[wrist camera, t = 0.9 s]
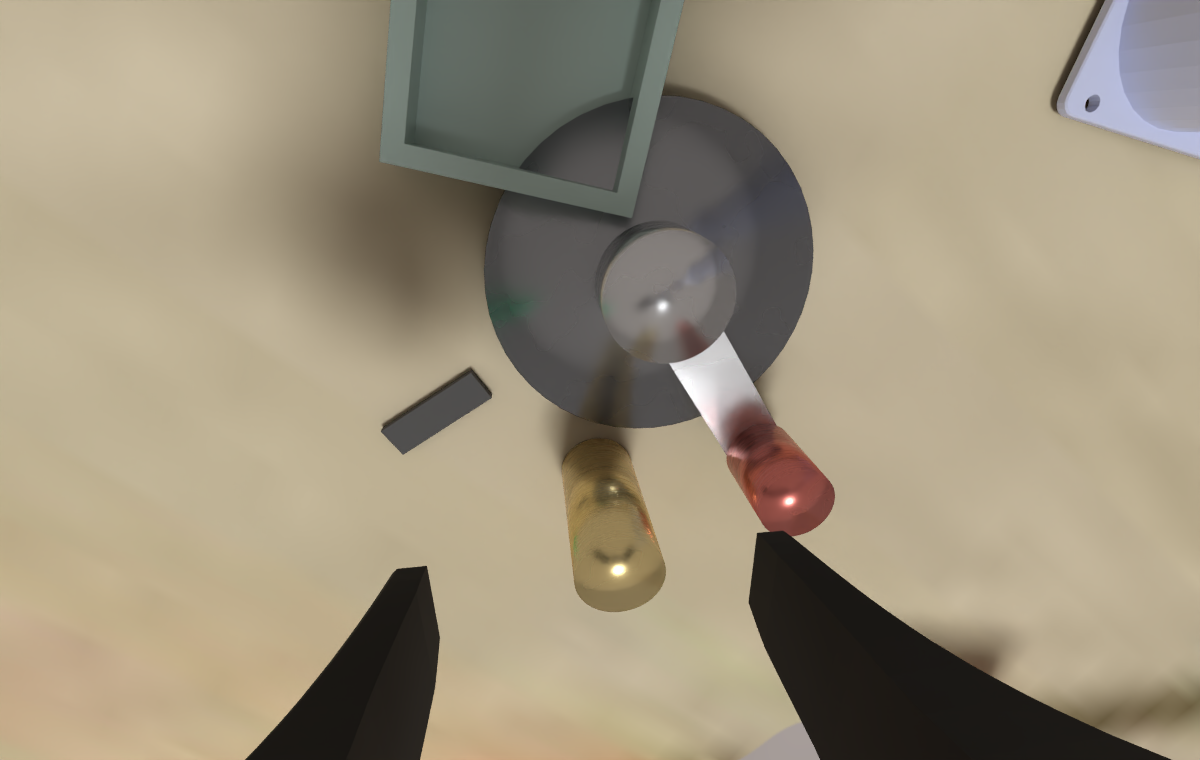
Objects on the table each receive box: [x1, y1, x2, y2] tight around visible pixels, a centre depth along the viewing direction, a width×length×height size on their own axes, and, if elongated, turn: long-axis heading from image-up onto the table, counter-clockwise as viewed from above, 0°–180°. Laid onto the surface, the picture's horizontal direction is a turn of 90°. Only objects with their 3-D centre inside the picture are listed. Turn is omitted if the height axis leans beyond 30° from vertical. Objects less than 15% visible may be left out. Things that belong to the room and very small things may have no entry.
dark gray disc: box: [484, 96, 813, 428], centre depth 19 cm, size 11×11×1 cm
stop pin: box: [562, 438, 666, 612], centre depth 20 cm, size 3×3×6 cm
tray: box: [379, 0, 684, 218], centre depth 15 cm, size 7×7×2 cm
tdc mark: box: [381, 370, 492, 454], centre depth 20 cm, size 4×1×1 cm, turn 122°
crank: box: [595, 221, 835, 536], centre depth 17 cm, size 10×4×4 cm, turn 32°
